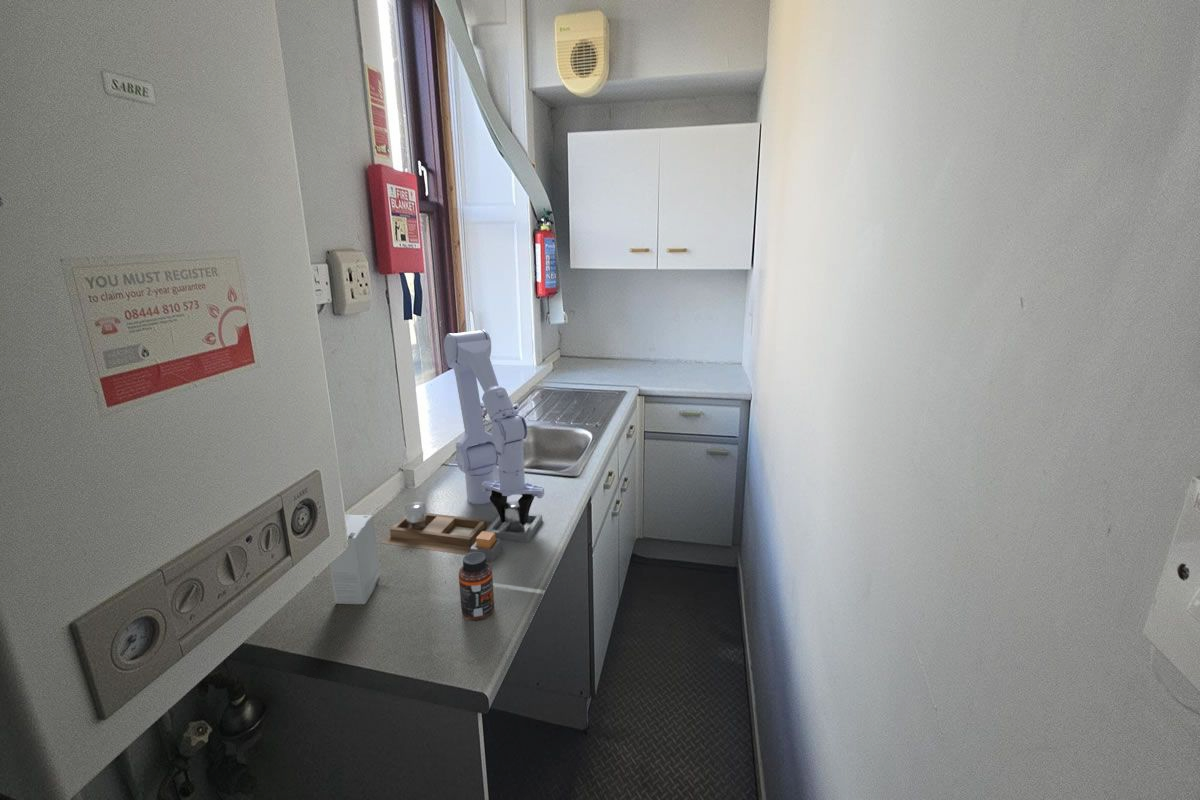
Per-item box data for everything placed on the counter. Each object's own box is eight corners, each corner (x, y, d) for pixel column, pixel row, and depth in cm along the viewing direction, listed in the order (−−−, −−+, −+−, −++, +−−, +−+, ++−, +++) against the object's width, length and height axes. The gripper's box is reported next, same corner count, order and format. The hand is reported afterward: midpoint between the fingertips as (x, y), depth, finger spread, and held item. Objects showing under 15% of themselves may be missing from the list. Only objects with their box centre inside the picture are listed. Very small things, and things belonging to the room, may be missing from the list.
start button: (483, 543, 119) (482, 530, 118) (495, 544, 119) (495, 532, 118) (477, 550, 116) (476, 538, 116) (490, 552, 116) (489, 539, 115)
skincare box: (353, 578, 111) (343, 513, 106) (383, 578, 110) (374, 513, 106) (334, 606, 102) (321, 536, 98) (366, 606, 102) (355, 536, 98)
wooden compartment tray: (415, 516, 135) (414, 505, 134) (494, 525, 130) (494, 514, 129) (381, 546, 122) (379, 534, 121) (468, 558, 117) (466, 546, 116)
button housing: (481, 548, 121) (480, 536, 120) (502, 550, 120) (501, 538, 119) (471, 560, 116) (470, 548, 115) (493, 563, 115) (492, 551, 114)
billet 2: (509, 522, 130) (508, 500, 128) (527, 524, 129) (525, 502, 127) (502, 532, 126) (500, 508, 124) (520, 534, 125) (518, 511, 123)
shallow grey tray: (503, 517, 134) (502, 510, 133) (542, 522, 131) (542, 514, 131) (486, 539, 124) (485, 531, 124) (527, 544, 122) (527, 536, 121)
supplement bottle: (487, 624, 98) (482, 569, 94) (456, 619, 99) (450, 565, 95) (499, 602, 103) (496, 550, 100) (470, 598, 104) (465, 546, 101)
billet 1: (414, 523, 129) (411, 500, 127) (431, 525, 128) (428, 502, 127) (404, 533, 125) (401, 509, 123) (421, 535, 124) (418, 511, 122)
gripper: (473, 472, 121) (478, 526, 125) (535, 478, 118) (538, 534, 122) (487, 459, 128) (490, 511, 132) (546, 465, 124) (548, 518, 128)
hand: (514, 521), depth 127 cm, fingers closed on billet 2, 4 cm apart
